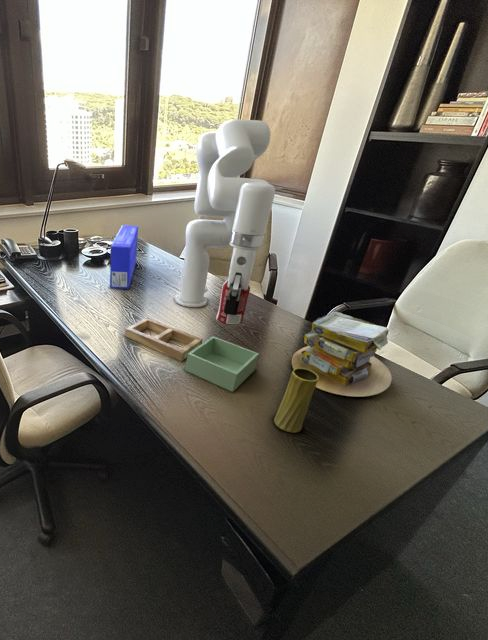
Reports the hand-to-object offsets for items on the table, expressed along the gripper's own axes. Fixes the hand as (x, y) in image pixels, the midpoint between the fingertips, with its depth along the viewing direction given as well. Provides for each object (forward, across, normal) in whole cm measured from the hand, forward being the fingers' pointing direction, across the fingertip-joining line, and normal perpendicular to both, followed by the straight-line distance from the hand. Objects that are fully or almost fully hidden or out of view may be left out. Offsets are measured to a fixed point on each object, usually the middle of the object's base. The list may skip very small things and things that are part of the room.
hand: (231, 307), depth 97 cm
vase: (+19, -17, -18) cm, 32 cm away
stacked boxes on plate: (+19, +13, -32) cm, 40 cm away
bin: (+19, 0, -1) cm, 19 cm away
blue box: (+19, +64, +52) cm, 85 cm away
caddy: (+19, +9, +19) cm, 28 cm away
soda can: (+4, 0, 0) cm, 4 cm away
